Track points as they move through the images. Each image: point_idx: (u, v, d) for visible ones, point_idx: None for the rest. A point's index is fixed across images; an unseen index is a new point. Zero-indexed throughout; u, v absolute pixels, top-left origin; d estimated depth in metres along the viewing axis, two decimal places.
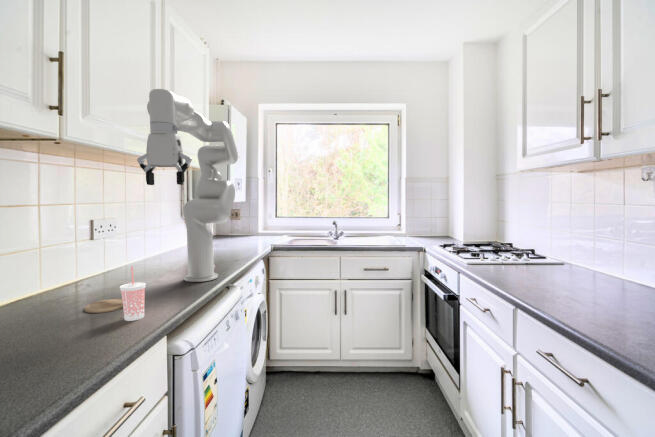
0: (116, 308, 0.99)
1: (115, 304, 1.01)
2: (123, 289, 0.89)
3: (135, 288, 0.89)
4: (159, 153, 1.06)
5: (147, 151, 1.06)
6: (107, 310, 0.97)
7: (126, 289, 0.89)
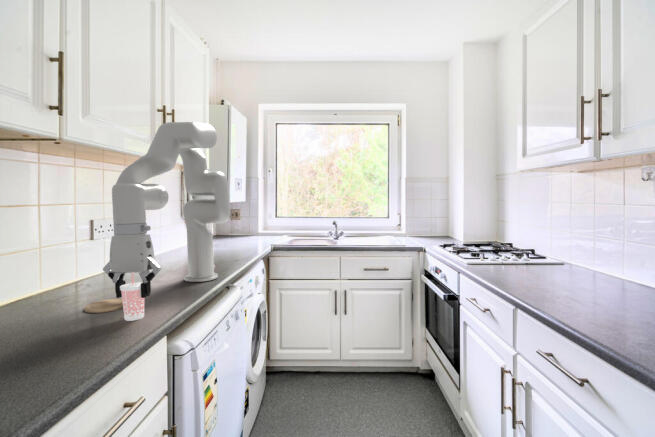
0: (116, 308, 0.99)
1: (115, 304, 1.01)
2: (123, 289, 0.89)
3: (135, 288, 0.89)
4: (124, 259, 0.89)
5: (110, 256, 0.89)
6: (107, 310, 0.97)
7: (126, 289, 0.89)
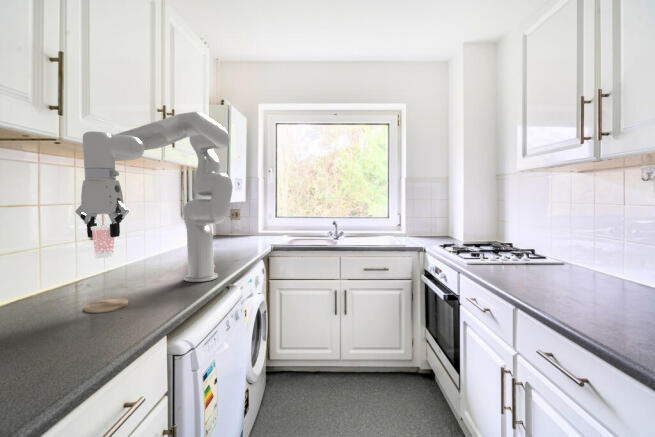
0: (116, 308, 0.99)
1: (115, 304, 1.01)
2: (93, 228, 0.97)
3: (104, 228, 0.98)
4: (95, 201, 0.97)
5: (82, 199, 0.98)
6: (107, 310, 0.97)
7: (96, 228, 0.97)
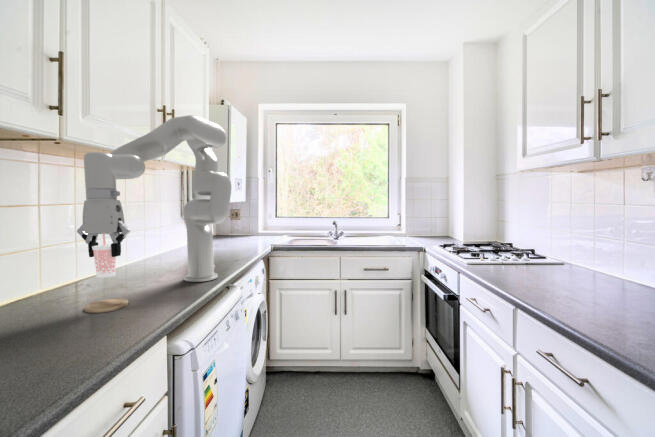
0: (116, 308, 0.99)
1: (115, 304, 1.01)
2: (95, 248, 0.98)
3: (106, 248, 0.98)
4: (96, 221, 0.98)
5: (83, 219, 0.98)
6: (107, 310, 0.97)
7: (97, 248, 0.98)
